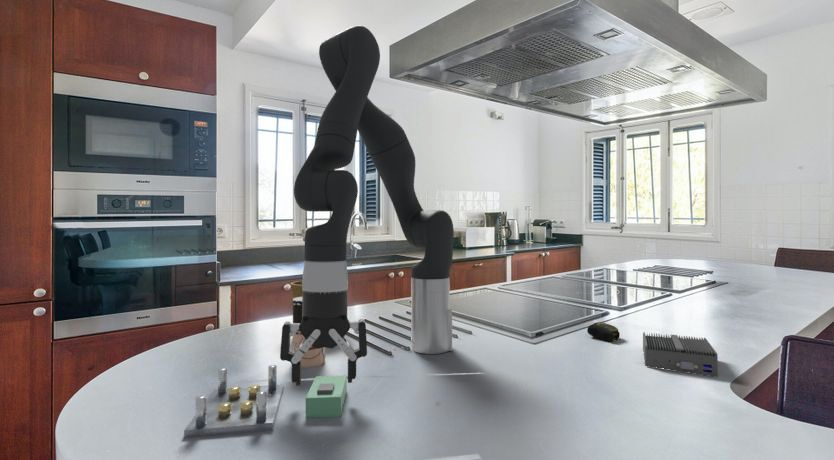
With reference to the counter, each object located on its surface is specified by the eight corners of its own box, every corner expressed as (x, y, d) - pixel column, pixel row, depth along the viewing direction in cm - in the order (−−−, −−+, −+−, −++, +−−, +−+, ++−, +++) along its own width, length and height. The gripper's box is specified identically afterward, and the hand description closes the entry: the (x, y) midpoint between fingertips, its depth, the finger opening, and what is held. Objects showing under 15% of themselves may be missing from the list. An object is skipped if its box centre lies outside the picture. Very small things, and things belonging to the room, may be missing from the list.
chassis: (213, 396, 76) (213, 367, 76) (283, 390, 79) (283, 362, 79) (184, 439, 61) (184, 402, 61) (272, 430, 63) (272, 395, 63)
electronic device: (705, 357, 100) (705, 336, 100) (718, 378, 86) (718, 353, 86) (642, 350, 106) (642, 330, 106) (645, 368, 92) (645, 345, 92)
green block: (316, 395, 77) (315, 373, 77) (346, 394, 78) (346, 372, 78) (305, 420, 67) (305, 394, 67) (340, 419, 68) (340, 393, 68)
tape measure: (584, 336, 115) (587, 323, 114) (598, 333, 119) (601, 320, 118) (608, 346, 109) (611, 332, 109) (622, 342, 113) (625, 329, 113)
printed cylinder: (286, 371, 90) (286, 300, 90) (304, 362, 96) (304, 295, 96) (314, 374, 88) (314, 301, 88) (330, 364, 94) (330, 296, 94)
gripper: (365, 284, 78) (364, 373, 77) (284, 285, 75) (283, 378, 75) (369, 289, 70) (368, 388, 70) (278, 291, 68) (277, 393, 67)
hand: (324, 382), depth 72 cm, fingers open, 8 cm apart
